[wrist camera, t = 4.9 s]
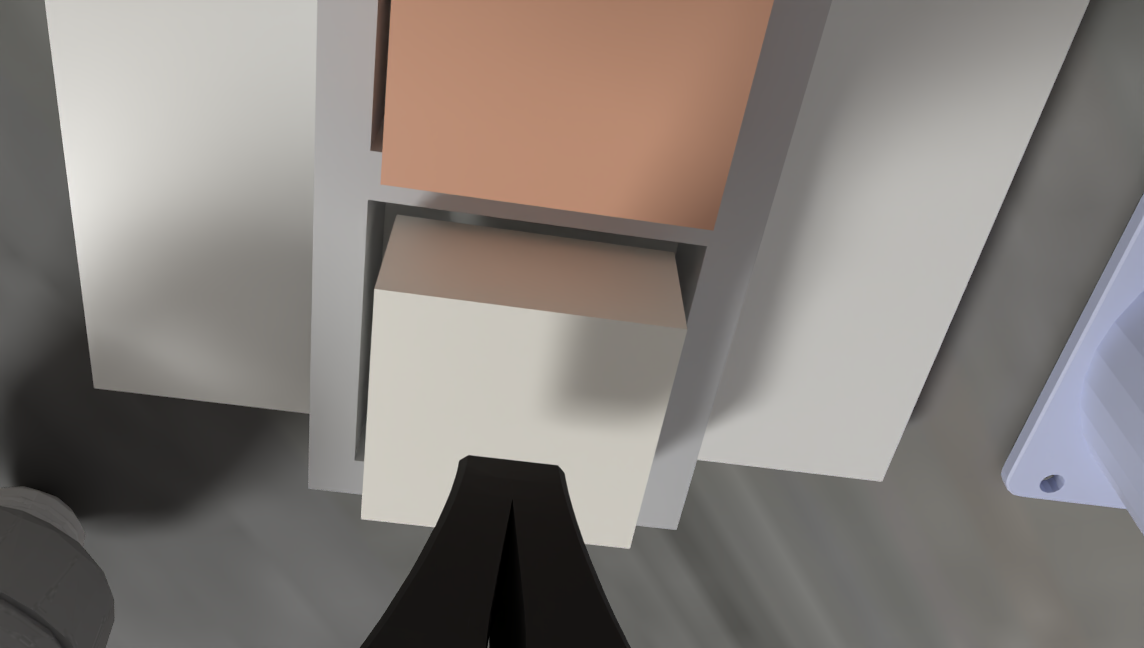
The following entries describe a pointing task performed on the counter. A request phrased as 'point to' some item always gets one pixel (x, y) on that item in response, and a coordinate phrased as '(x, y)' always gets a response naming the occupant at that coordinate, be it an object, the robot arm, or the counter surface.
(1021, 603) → the counter surface
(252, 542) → the counter surface
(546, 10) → the key terracotta
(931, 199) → the keypad
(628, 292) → the key ivory
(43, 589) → the light bulb
